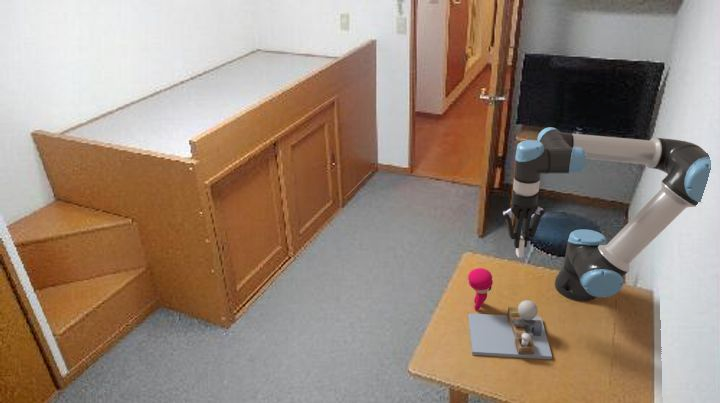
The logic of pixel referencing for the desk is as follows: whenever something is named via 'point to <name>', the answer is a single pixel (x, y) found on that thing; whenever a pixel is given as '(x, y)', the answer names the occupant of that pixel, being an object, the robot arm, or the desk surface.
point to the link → (519, 333)
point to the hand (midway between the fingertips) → (519, 255)
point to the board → (503, 337)
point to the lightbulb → (527, 310)
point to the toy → (480, 285)
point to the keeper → (530, 325)
